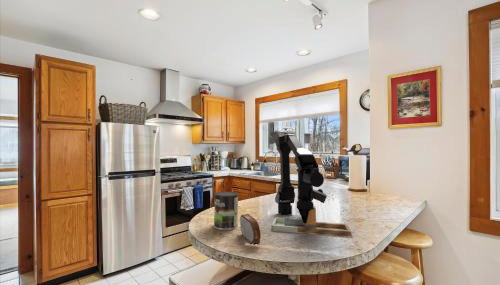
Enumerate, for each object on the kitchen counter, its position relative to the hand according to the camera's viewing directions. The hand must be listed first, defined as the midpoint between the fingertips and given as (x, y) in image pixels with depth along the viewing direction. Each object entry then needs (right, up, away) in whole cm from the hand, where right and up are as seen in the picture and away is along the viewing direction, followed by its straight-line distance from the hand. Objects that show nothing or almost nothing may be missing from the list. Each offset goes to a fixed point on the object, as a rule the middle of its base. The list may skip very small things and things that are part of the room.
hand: (305, 221), depth 97 cm
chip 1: (-6, -3, +1) cm, 7 cm away
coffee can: (-33, -4, +4) cm, 33 cm away
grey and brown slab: (-23, -3, -10) cm, 25 cm away
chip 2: (-2, -3, 0) cm, 4 cm away
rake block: (+2, -2, -1) cm, 3 cm away
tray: (-8, -4, +2) cm, 9 cm away
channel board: (+7, -4, -2) cm, 8 cm away
